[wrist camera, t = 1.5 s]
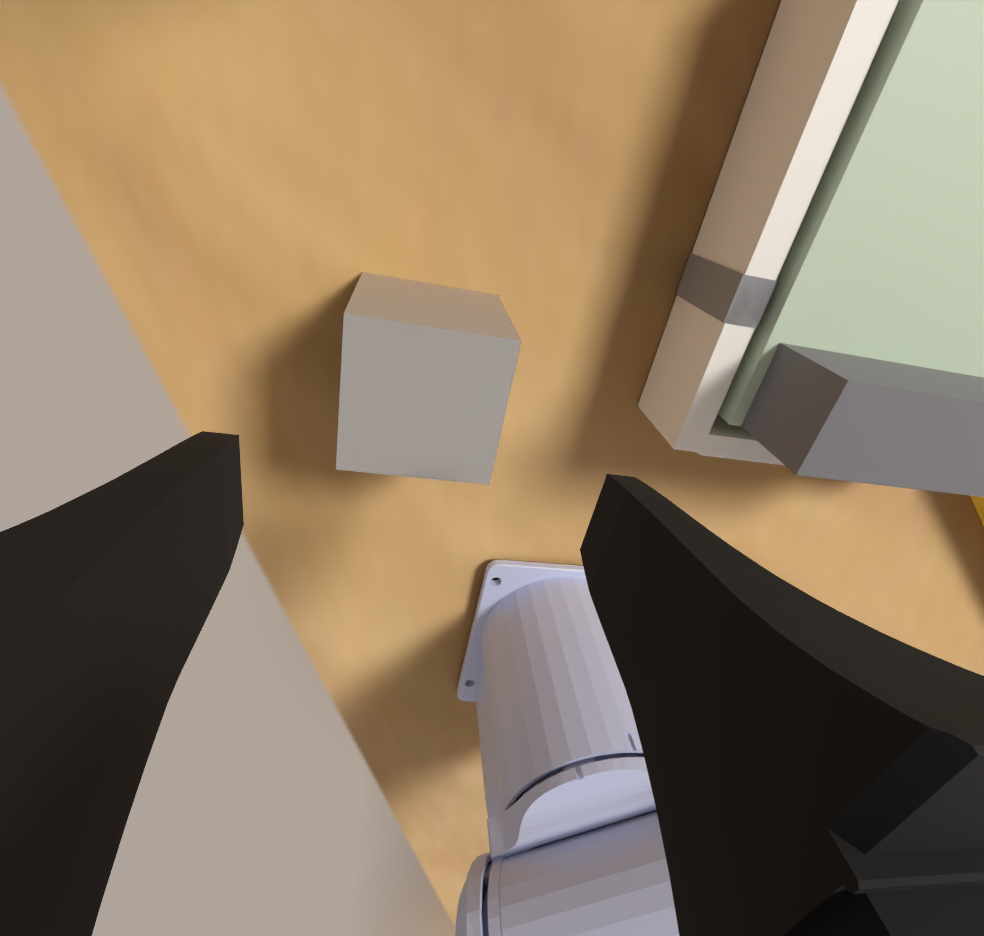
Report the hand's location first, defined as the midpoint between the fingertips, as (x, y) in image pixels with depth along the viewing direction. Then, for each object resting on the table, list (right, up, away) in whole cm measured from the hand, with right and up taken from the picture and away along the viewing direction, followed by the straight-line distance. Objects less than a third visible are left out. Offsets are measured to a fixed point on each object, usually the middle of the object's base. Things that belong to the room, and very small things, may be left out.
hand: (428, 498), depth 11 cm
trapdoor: (+15, +7, +5) cm, 17 cm away
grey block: (-1, +5, +8) cm, 10 cm away
